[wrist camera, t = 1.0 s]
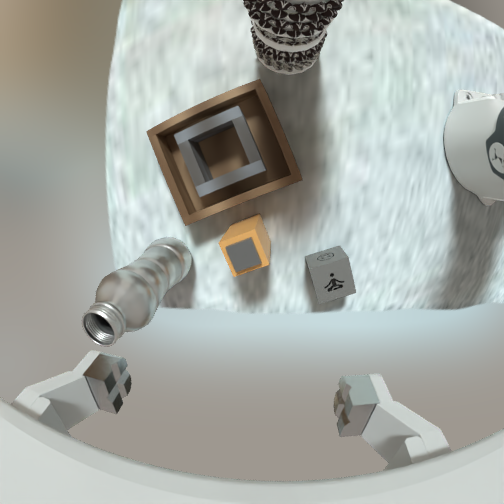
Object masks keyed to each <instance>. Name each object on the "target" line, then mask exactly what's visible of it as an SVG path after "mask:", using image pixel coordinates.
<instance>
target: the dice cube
mask: <svg viewBox="0 0 504 504" xmlns="http://www.w3.org/2000/svg"><path fill="white" fill-rule="evenodd" d="M305 258H306V261H307V264H308V268H309V271H310V274H311V278H312V281H313V285H314V288H315V292H316V295H317V299H318V303H319V304H322V303H325V302H328V301H332V300H335V299H338V298H341V297H344V296H348V295H351V294H354V293H356V289H355V285H354V280H353V275H352V271H351V266H350V262H349V258H348V256H347V255H346V253H345V252H344V251H343V249H342V248H341V247H340V246H337V247H333V248H330V249H327V250H324V251H321V252H317V253H314V254H311V255H308V256H305Z"/></svg>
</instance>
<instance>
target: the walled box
mask: <svg viewBox="0 0 504 504" xmlns="http://www.w3.org/2000/svg"><path fill="white" fill-rule="evenodd" d="M146 132H147V135H148V137H149V140H150V142H151V145H152V147H153V150H154V152H155V155H156V157H157V160H158V162H159V165H160V167H161V170H162V172H163V175H164V177H165V180H166V182H167V184H168V187H169V189H170V191H171V194H172V196H173V199H174V201H175V203H176V206H177V208H178V210H179V212H180V215H181V217H182V219H183V222H184V224H185V226H187V225H189V224H191V223H194V222H196V221H198V220H201V219H203V218H206V217H208V216H210V215H213V214H215V213H218V212H220V211H223V210H225V209H228V208H230V207H233V206H235V205H238V204H240V203H243V202H245V201H248V200H250V199H253V198H256V197H258V196H261V195H263V194H266V193H269V192H271V191H274V190H277V189H279V188H282V187H285V186H287V185H290V184H293V183H296V182H298V181H301V180H303V179H302V177H301V174H300V171H299V169H298V166H297V164H296V161H295V159H294V156H293V154H292V151H291V149H290V146H289V144H288V141H287V139H286V136H285V134H284V132H283V129H282V127H281V125H280V122H279V120H278V118H277V115H276V113H275V111H274V108H273V106H272V104H271V102H270V100H269V97H268V95H267V93H266V91H265V89H264V86H263V84H262V82H261V80H260V79H258V80H256V81H253V82H250V83H248V84H245V85H242V86H240V87H237V88H235V89H232V90H230V91H228V92H225V93H223V94H220V95H218V96H216V97H214V98H211V99H209V100H207V101H205V102H202V103H200V104H198V105H196V106H194V107H192V108H190V109H188V110H186V111H184V112H182V113H180V114H178V115H176V116H174V117H172V118H170V119H168V120H166V121H164V122H162V123H161V124H159V125H157V126H155V127H153V128H152V129H150V130H148V131H146Z"/></svg>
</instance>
